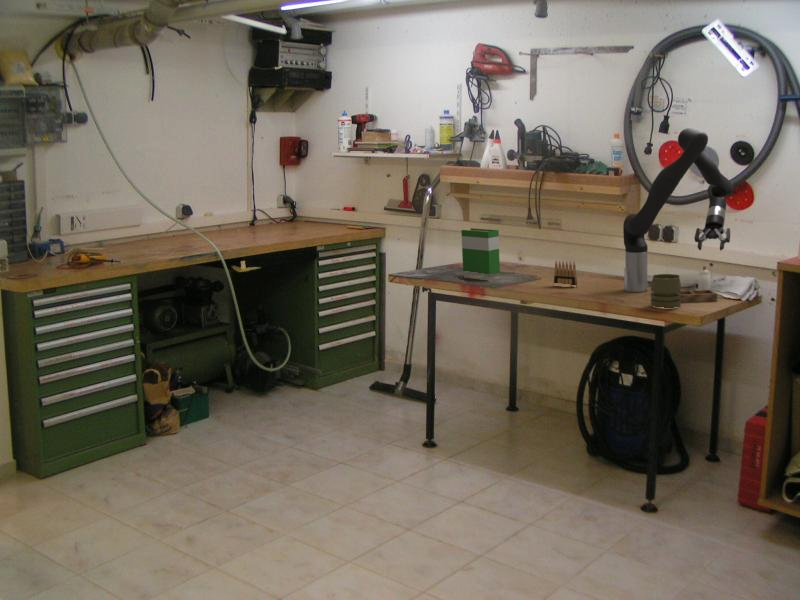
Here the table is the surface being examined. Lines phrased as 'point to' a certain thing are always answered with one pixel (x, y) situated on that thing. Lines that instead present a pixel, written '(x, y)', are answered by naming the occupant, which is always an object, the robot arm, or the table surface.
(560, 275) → the ammunition clip
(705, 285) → the glue bottle
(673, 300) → the olive green pot
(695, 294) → the wooden compartment tray
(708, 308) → the table surface
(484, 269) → the green box
